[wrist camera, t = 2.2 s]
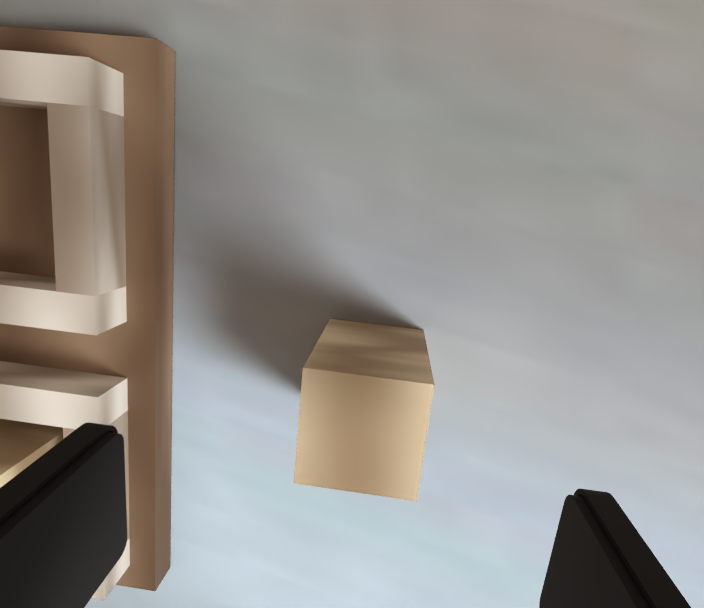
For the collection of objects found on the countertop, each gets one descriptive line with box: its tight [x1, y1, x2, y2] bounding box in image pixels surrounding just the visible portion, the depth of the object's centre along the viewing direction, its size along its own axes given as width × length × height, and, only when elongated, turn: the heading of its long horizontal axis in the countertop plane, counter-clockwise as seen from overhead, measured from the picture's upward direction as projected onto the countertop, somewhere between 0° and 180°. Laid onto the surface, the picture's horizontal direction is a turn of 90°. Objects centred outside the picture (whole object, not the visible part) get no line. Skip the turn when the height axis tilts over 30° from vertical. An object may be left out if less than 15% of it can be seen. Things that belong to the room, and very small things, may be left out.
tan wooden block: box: [294, 319, 434, 501], centre depth 17 cm, size 4×4×6 cm
